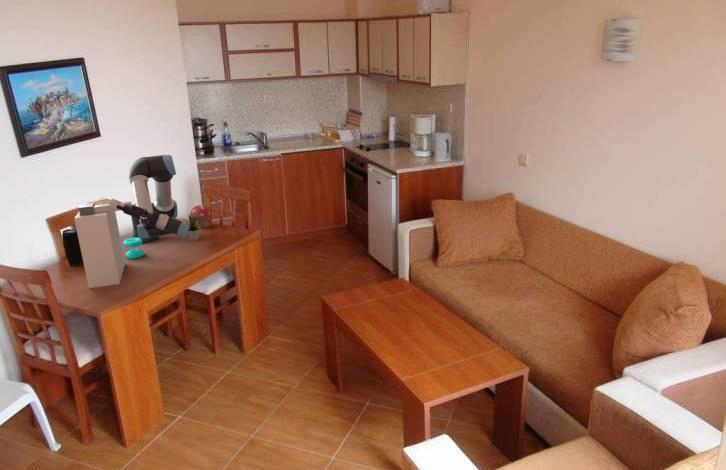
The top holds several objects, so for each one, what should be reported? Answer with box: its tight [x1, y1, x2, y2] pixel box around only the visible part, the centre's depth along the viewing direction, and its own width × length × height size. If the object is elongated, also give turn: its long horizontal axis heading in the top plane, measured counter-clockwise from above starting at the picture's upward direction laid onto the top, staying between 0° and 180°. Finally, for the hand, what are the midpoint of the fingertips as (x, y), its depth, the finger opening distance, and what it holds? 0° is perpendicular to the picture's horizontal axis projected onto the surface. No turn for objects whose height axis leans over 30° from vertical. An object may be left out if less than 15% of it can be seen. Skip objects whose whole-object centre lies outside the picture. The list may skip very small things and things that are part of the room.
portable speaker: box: [61, 228, 84, 267], centre depth 306 cm, size 9×9×20 cm
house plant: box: [181, 213, 202, 241], centre depth 341 cm, size 14×14×16 cm
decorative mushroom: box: [189, 204, 212, 228], centre depth 363 cm, size 13×13×15 cm
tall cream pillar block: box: [74, 199, 126, 289], centre depth 286 cm, size 14×30×37 cm, turn 17°
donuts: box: [122, 237, 145, 260], centre depth 316 cm, size 10×10×10 cm
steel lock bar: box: [78, 201, 133, 216], centre depth 275 cm, size 23×8×4 cm, turn 107°
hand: (110, 202), depth 275 cm, fingers closed on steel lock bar, 4 cm apart
